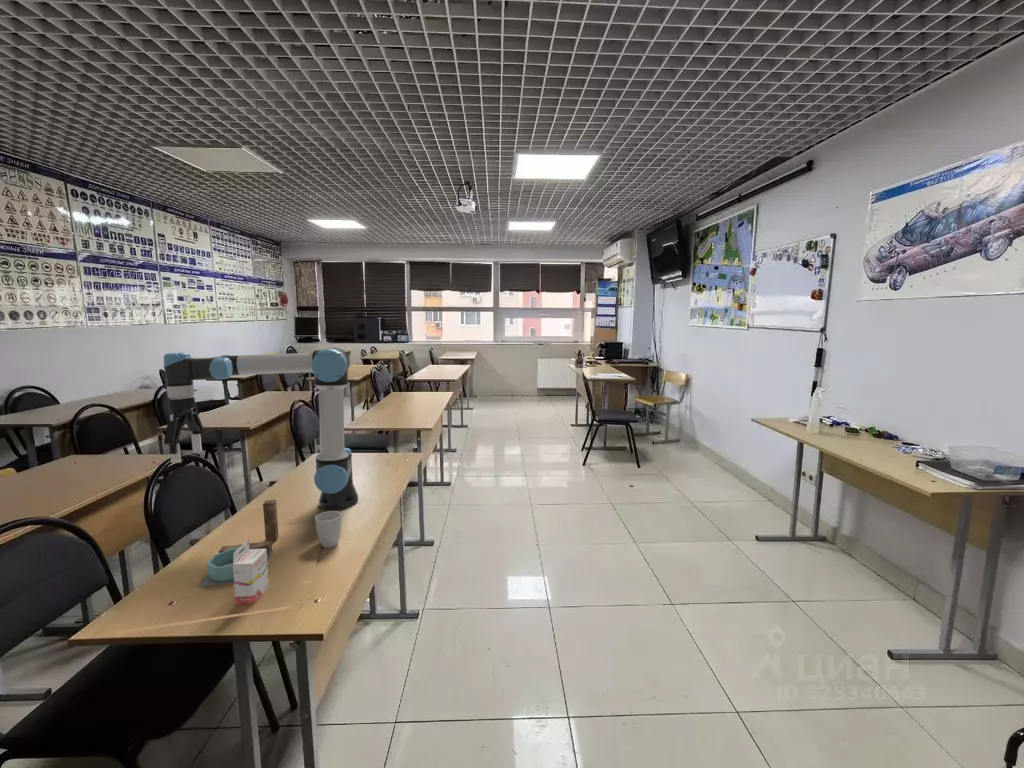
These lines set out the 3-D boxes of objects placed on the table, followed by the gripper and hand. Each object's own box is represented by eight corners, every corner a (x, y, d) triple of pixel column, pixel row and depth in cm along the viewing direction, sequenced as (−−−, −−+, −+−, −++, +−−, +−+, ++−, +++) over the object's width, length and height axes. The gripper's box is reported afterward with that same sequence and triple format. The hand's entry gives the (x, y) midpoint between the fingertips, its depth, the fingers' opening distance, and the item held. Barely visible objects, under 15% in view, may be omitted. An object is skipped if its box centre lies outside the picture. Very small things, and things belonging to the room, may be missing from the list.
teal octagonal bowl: (259, 558, 139) (258, 545, 139) (248, 578, 128) (247, 564, 128) (218, 563, 137) (217, 550, 136) (203, 584, 126) (202, 569, 125)
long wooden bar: (272, 550, 145) (271, 541, 144) (269, 555, 142) (268, 545, 141) (223, 556, 141) (222, 546, 141) (219, 561, 138) (218, 551, 138)
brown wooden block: (278, 538, 154) (275, 499, 153) (276, 542, 151) (273, 503, 150) (268, 539, 154) (265, 500, 152) (265, 543, 150) (262, 504, 149)
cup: (347, 540, 152) (346, 512, 151) (331, 551, 145) (329, 522, 144) (328, 537, 155) (327, 509, 154) (311, 548, 147) (309, 519, 146)
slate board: (274, 551, 145) (274, 549, 145) (258, 581, 128) (257, 579, 128) (222, 557, 142) (222, 555, 141) (198, 589, 124) (198, 587, 124)
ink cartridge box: (255, 606, 116) (251, 552, 115) (235, 607, 116) (230, 553, 114) (270, 587, 125) (266, 537, 123) (251, 588, 125) (247, 538, 123)
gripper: (188, 392, 166) (194, 448, 169) (146, 403, 142) (153, 468, 145) (210, 392, 168) (216, 447, 170) (172, 402, 143) (179, 467, 146)
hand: (187, 457), depth 157 cm, fingers open, 13 cm apart
